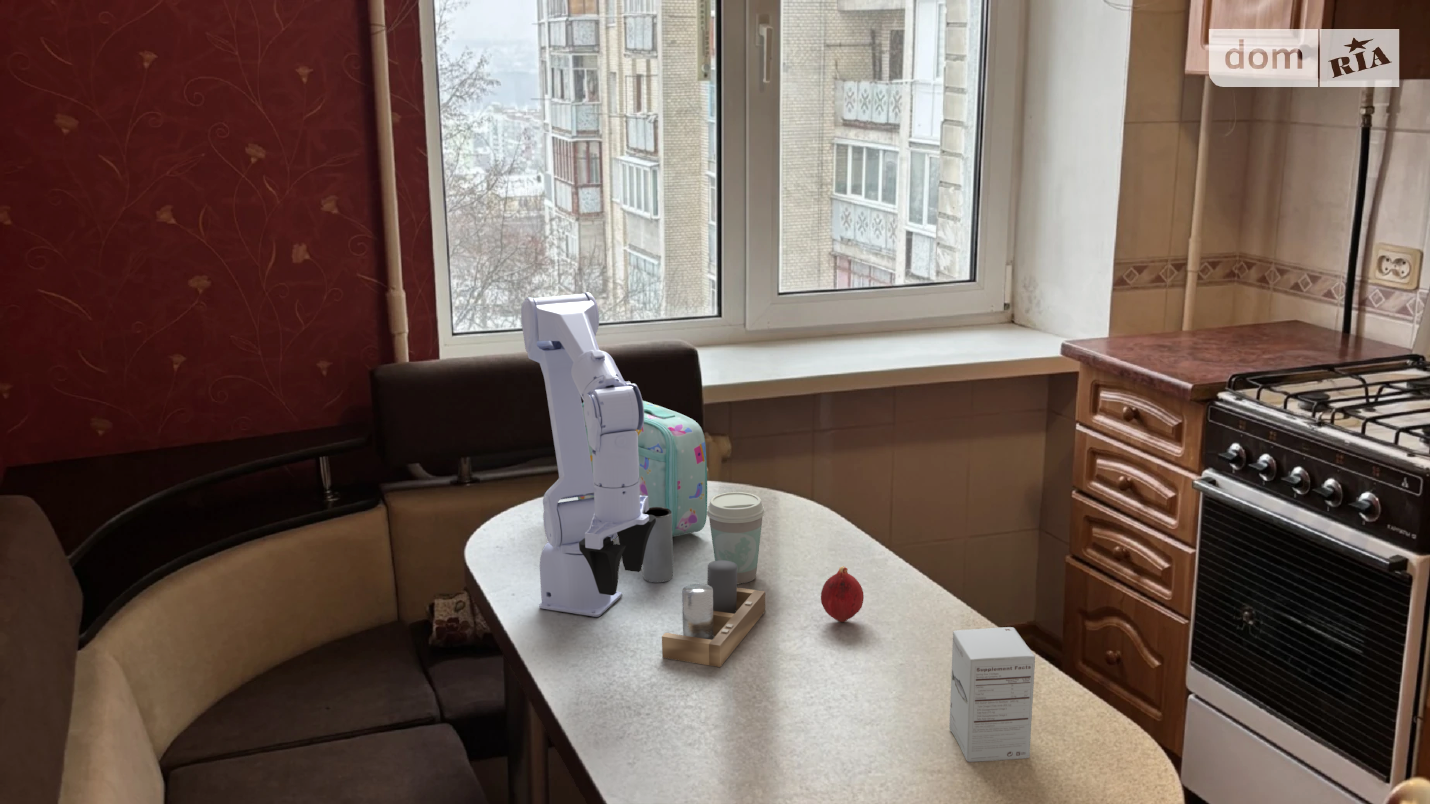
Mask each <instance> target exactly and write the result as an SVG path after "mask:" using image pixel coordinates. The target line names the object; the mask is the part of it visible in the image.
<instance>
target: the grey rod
mask: <svg viewBox="0 0 1430 804" xmlns="http://www.w3.org/2000/svg"><path fill="white" fill-rule="evenodd" d="M681 597H682V600H681V601H682V602H681V604H682V606H681V608H682V635H684V636H691V637H697V638H703V639H710V640H713V638H714V637H715V636H714V633H713V588H712V587H711V586H709V585H708V584H706V583H691V584H687V585H685V586H684V587H682V589H681Z"/></svg>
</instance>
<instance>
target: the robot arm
mask: <svg viewBox="0 0 1430 804" xmlns="http://www.w3.org/2000/svg"><path fill="white" fill-rule="evenodd" d="M599 314H600V313H599V308H598V303H597V301H596V298H595V296H593V295H592V293H590V292H588V291H585V292H583V293H575V294H565V295H555V296H552V295H551V296H541V297H531V296H529V297H526V298H525V299H524V301H523V302H522V304H521V309H520V316H521V317H520V318H521V320H520V321H521V329H522V334H523V342H524V348H525V351H526V353H527V358H528V359H529V360H532V361H534V362H537V363H538V364H539V366H540V368H541V372H542V375H543V379H544V380H543V381H544V385H545V391H546V398H547V406H548V411H549V418H550V426H551V430H552V431H551V432H552V438H553V439H552V440H553V445H554V450H555V451H554V453H555V457H556V465H557V473H558V479H557V480H556V481H555V482H554V483H553V484H552V485H551V486H550V487H549V488H548V489H547V490H546V492H544V494H543V498H542V506H543V507H542V508H543V515H542V517H543V528H544V532H545V533H544V534H545V538H546V540H547V542H546V544H545V545H544V547H543V548H542V550H541V554H540V558H539V579H540V580H539V581H540V596H541V602H540V603H539V604H538V607H539V609H543V610H550V611H555V612H561V613H562V612H563V613H569V614H575V615H581V616H589V617H595V618H598V617H600V616H601V615H603V614H604V613H605V612H606V611H607V610H608V609H609V608H610V607H612V606H613V605H614V604H615V602H617V601H618V600H619V599H620V598H621V597H623V592H621V591H617V590H618V584H619V569H620V563H621V561H622V565H623V568H624V571H626V572H627V571H628V572H635V573H640V572H641V571H642V569H643V560H644V554H645V550H646V545H647V541H648V538H649V536H650V533H651V531H652V528H653V526H654V525H655V523H656V517H655V516H654V515H648V514H645V513H644V512H647V511H648V510H649V503H648V496H641V495H640V487H639V458H638V433H637V432H636V429H638V430H641V429H642V427H643V424H644V406H643V401H644V400H643V398H642V397H643V396H642V394H641V391H640V389H639V386H638V385H637V384H636V383H631V381H629V380H628V381H625V379H624V378H623V376H622V374H621V372H620V370H619V368H618V365H616V362H615V359H613V357H612V356H611V355H610V354H609V353H608V352H607V351H605V350H600V348H599V347H600V346H599V345H598V341H597V338H596V336H597V332H598V330H599V328H600V327H599V326H600V315H599ZM582 401H583V402H584V415H583V408H582V403H583V402H582ZM584 416H585V421H586V426H587V431H588V441H589V445H590V446H591V447H592V459H593V473H592V466H591V460H590V454H589V447H588V441H587V434H586V428H585V421H584ZM588 495H593V496H594V497H593V498H587V499H580V500H578V499H573V498H578V497H581V496H588ZM566 499H572V500H566ZM561 500H566V501H561ZM559 501H560V502H559ZM616 538H618V541H619V543H614V541H613V539H614V540H615V539H616ZM621 559H622V560H621Z"/></svg>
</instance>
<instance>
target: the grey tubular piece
mask: <svg viewBox="0 0 1430 804" xmlns="http://www.w3.org/2000/svg"><path fill="white" fill-rule="evenodd" d="M644 513H645V514H648V515H654V516H655V517H656V523H655V525H654V526H653V528H652V531H651V533H650V536H649V538H648V541H647V545H646V550H645V554H644V560H643V564H642V577H643V579H644V580H645V581H646V582H650V583H665V582H668V581H670V580H671V579H673V577H674V552H673V551H674V550H673V537H672V512H671V510H670V509H668V508H664V507H651V508H649V510H648V511H647V512H644Z"/></svg>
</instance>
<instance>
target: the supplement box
mask: <svg viewBox="0 0 1430 804" xmlns="http://www.w3.org/2000/svg"><path fill="white" fill-rule="evenodd" d="M951 649H952V650H951V652H952V655H951V673H950V674H951V675H950V696H949V697H950V699H949V701H950V703H949V722H948V723H949V726H948V727H949V730H950V732H951V733H952V735H953V737H954V739H955V740H956V742H957V743H958V746H959V748H960V750H961V751H962V754H963V756H964V759H965V760H966V761H967V763H973V762H975V763H977V762H990V761H991V762H992V761H1006V760H1021V759H1028V758H1030V756H1031V755H1030V754H1031V737H1032V736H1031V733H1032V719H1033V700H1034V689H1035V688H1034V686H1035V685H1034V684H1035V665H1036V657H1035V656H1036V655H1035V654H1034V653H1033V652H1032V650H1031V649H1030V647H1029V646H1028V645H1027V644H1026V642H1025V640H1024V639H1023V638H1022V637H1021V635H1020V634H1019V632H1018V631H1017V629H1016V628H1015V627H1011V626H1007V627H1006V626H1005V627H1003V626H1002V627H989V628H988V627H986V628H973V629H958V630H957V629H956V630H953V631H952V648H951Z"/></svg>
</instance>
